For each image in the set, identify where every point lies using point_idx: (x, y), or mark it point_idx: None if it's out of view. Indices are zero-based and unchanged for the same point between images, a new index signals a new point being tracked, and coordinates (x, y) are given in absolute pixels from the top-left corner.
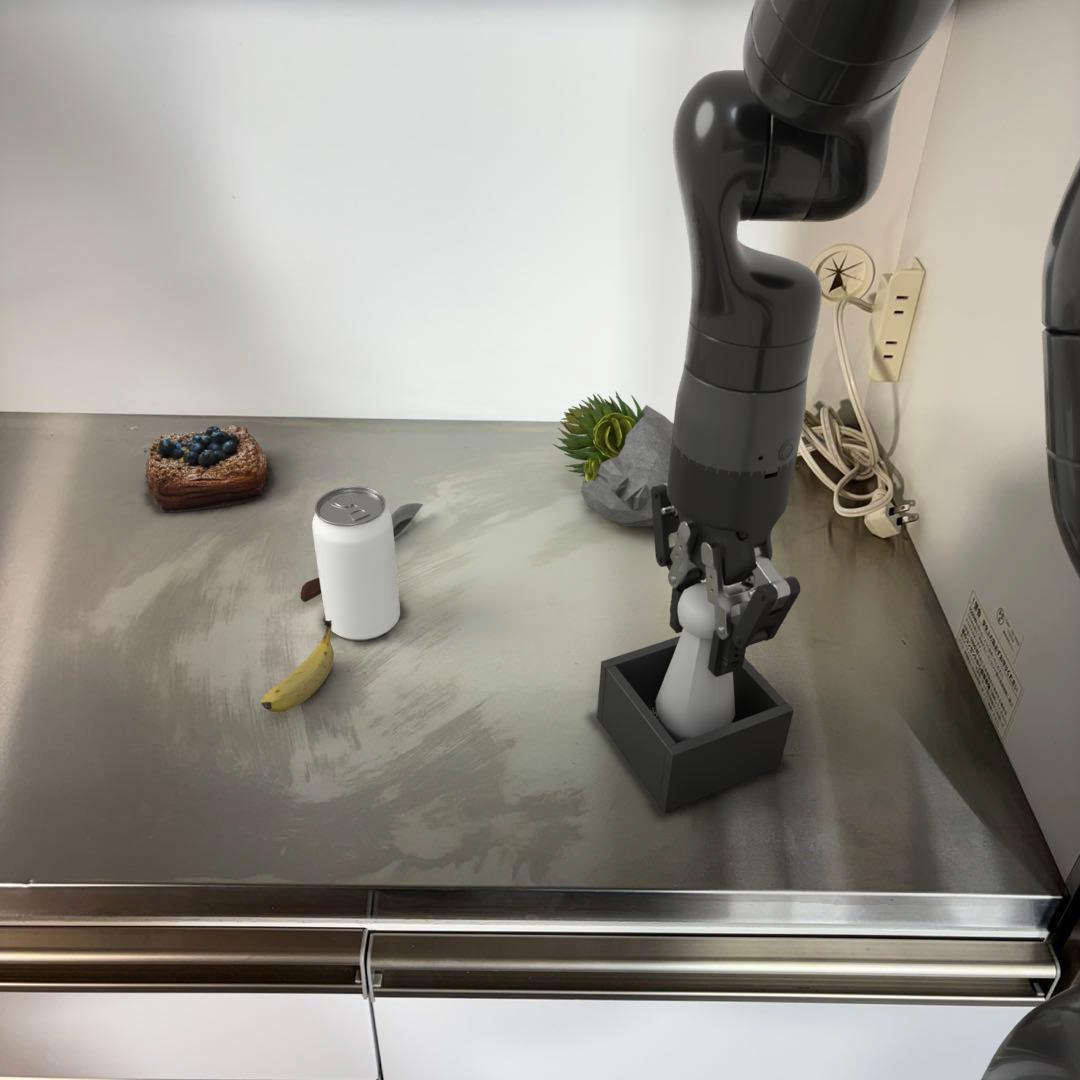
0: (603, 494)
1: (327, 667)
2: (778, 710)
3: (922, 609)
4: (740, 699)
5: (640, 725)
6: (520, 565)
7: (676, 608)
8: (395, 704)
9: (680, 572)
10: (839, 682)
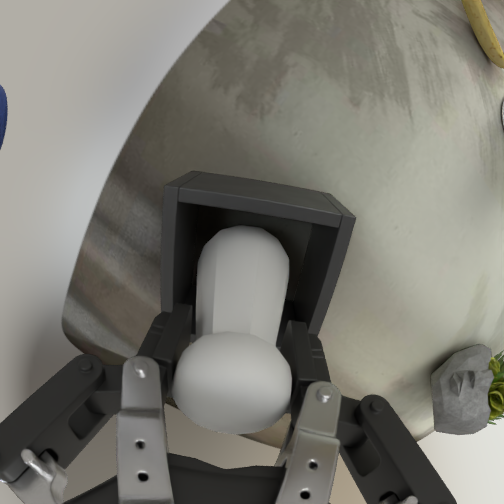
0: (478, 361)
1: (490, 51)
2: None
3: (251, 435)
4: None
5: (244, 191)
6: (489, 266)
7: (297, 352)
8: (443, 63)
9: (305, 423)
10: None
